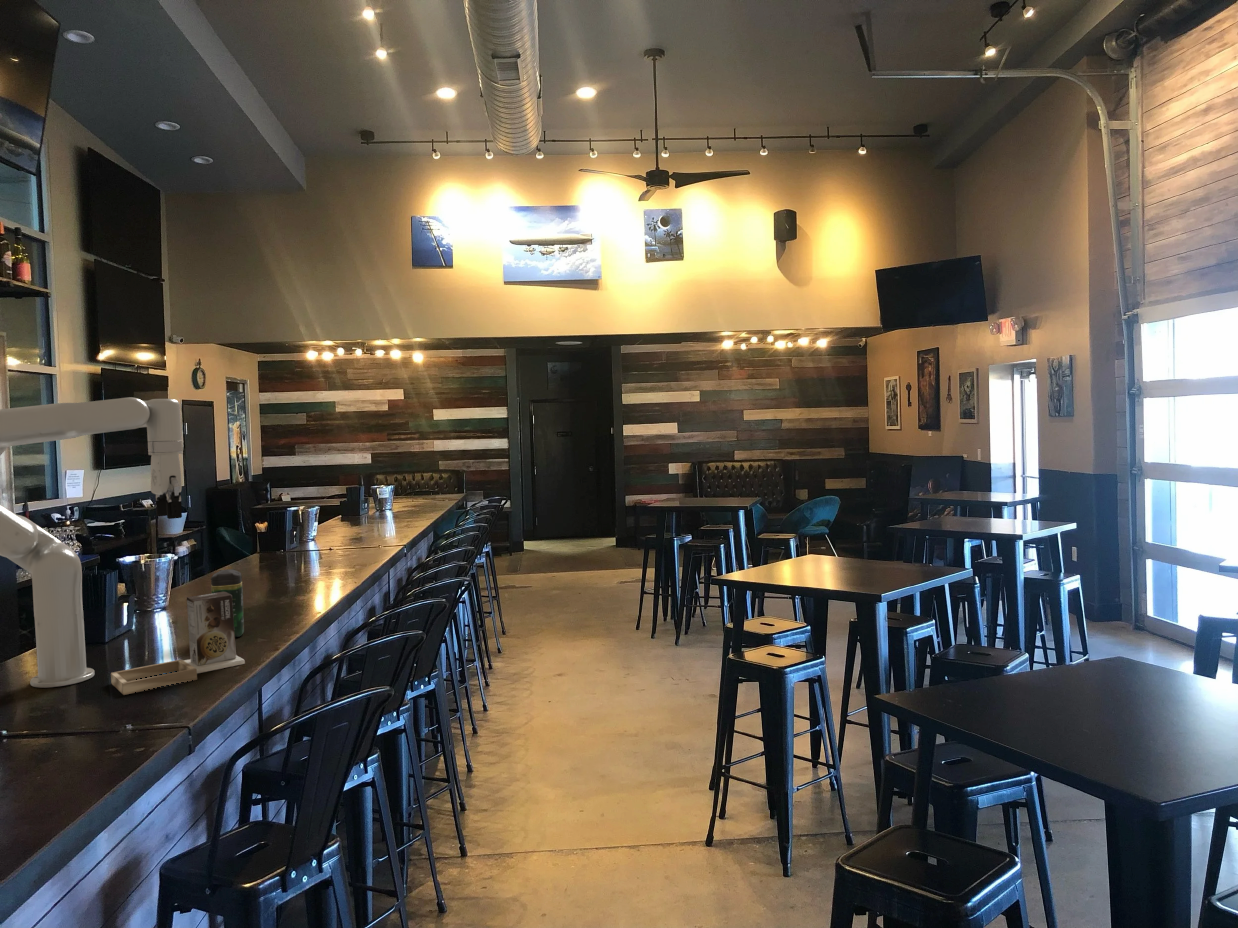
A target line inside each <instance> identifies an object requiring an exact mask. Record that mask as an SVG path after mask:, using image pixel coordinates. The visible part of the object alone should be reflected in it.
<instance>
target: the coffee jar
mask: <svg viewBox="0 0 1238 928" xmlns="http://www.w3.org/2000/svg"><path fill="white" fill-rule="evenodd" d="M242 578H243V577H242V572H241V571H239V570H237V569H235V568H233V569H231V568H230V569H220V570H218V572H216V573H214V574H213V575H212V576H211V578H210V581H211V582H210V583H211V584H210V585H211V586H210V587H211V588H210V589H211V590H210V591H211V593H218V592H227V593H229V594H231V595H232V602H233V618H234V633H235V638H236V637H238V638H239V637H241V636H242V635H243V634H244V632H245V620H244V619H245V618H244V593H243V579H242Z"/></svg>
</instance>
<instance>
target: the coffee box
mask: <svg viewBox="0 0 1238 928" xmlns="http://www.w3.org/2000/svg"><path fill="white" fill-rule="evenodd" d="M186 608H187V610H186V611H187V625H188V626H187V627H188V639H189V641H188V643H189V658H190V661H191V662H192V663H194V664H195V665H197V666H201V665H206V664H211V663H215V662H220V661H225V660H230V659H234V658H236V655H237V652H236V651H237V650H236V637H235V633H234V618H233V602H232V595H231V594H229V593H227V592H218V593H212V592H211V593H206V594H205V593H204V594H200V595H194V596H187V597H186Z"/></svg>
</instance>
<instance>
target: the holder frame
mask: <svg viewBox="0 0 1238 928" xmlns="http://www.w3.org/2000/svg"><path fill="white" fill-rule="evenodd" d="M174 671H177V672H174ZM169 672H172V673H169ZM163 673H167V674H163ZM159 674H162V675H159ZM154 675H157V676H154ZM150 676H152V677H150ZM145 677H147V678H145ZM140 678H142V679H140ZM136 679H137V680H136ZM192 680H193V681H196V680H198V673H197V669H196V668H194V667H193V666H191V665H190V664H188V663H186V662H185V661H184V660H183V659H182V658H181V659H176V660H171V661H166V662H161V663H155V664H150V665H145V666H140V667H133V668H128V669H123V670H118V671H114V672H113V671H112V672H111V673H110V681H111V685H112V686H113V687H115V688H116V689H117V690H118V692H120V693H121V694H122V695H123V696H125V695H129V694H135V692H136V693H140V692H145V691H149V690H148V689H150V690H154V689H153V688H155V689H157V687H160V688H162V687H161V686H164V687H167V686H166V685H169V686H172V685H171V684H174V685H177V684H176V683H179V684H182V683H181V682H184V683H187V681H188V682H192ZM144 690H145V691H144Z"/></svg>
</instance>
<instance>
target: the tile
mask: <svg viewBox="0 0 1238 928" xmlns="http://www.w3.org/2000/svg"><path fill="white" fill-rule="evenodd" d="M183 661H185V662H186V663H188V664H190V665H191V666H193V667H194V668H196V669H197V674H201V673H207V672H211V671H217V670H221V669H224V668H230V667H235V666H240V665H245V664H246V661H245V659H244V658H242V657H241V656H238V655H237V654H236V658H234V659H230V660H225V661H220V662H215V663H211V664H206V665H201V666H197V665H195V664H194V663H192V662H191V661H190V659H185V660H183Z"/></svg>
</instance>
